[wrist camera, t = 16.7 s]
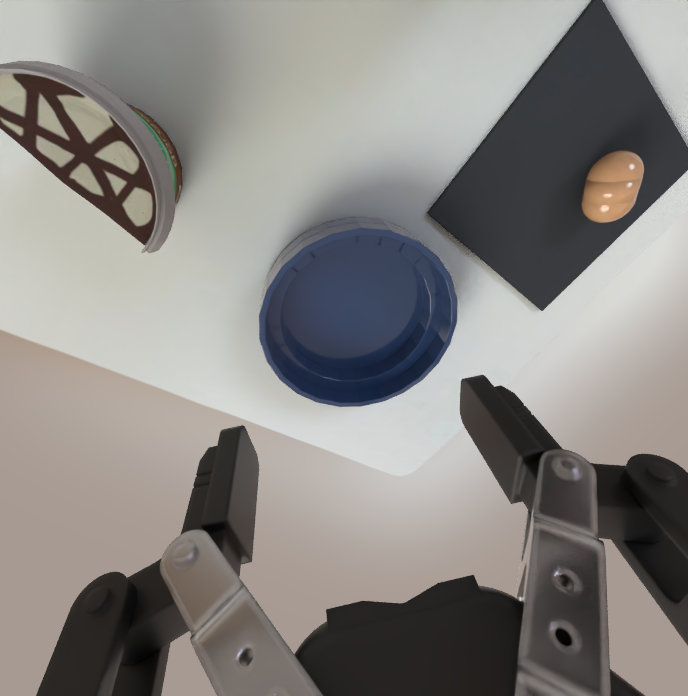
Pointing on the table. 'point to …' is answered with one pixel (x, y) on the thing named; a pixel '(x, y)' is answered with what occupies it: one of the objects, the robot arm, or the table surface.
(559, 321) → the table surface
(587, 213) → the bread roll
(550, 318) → the table surface
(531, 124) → the mat
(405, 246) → the basin
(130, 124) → the food container
